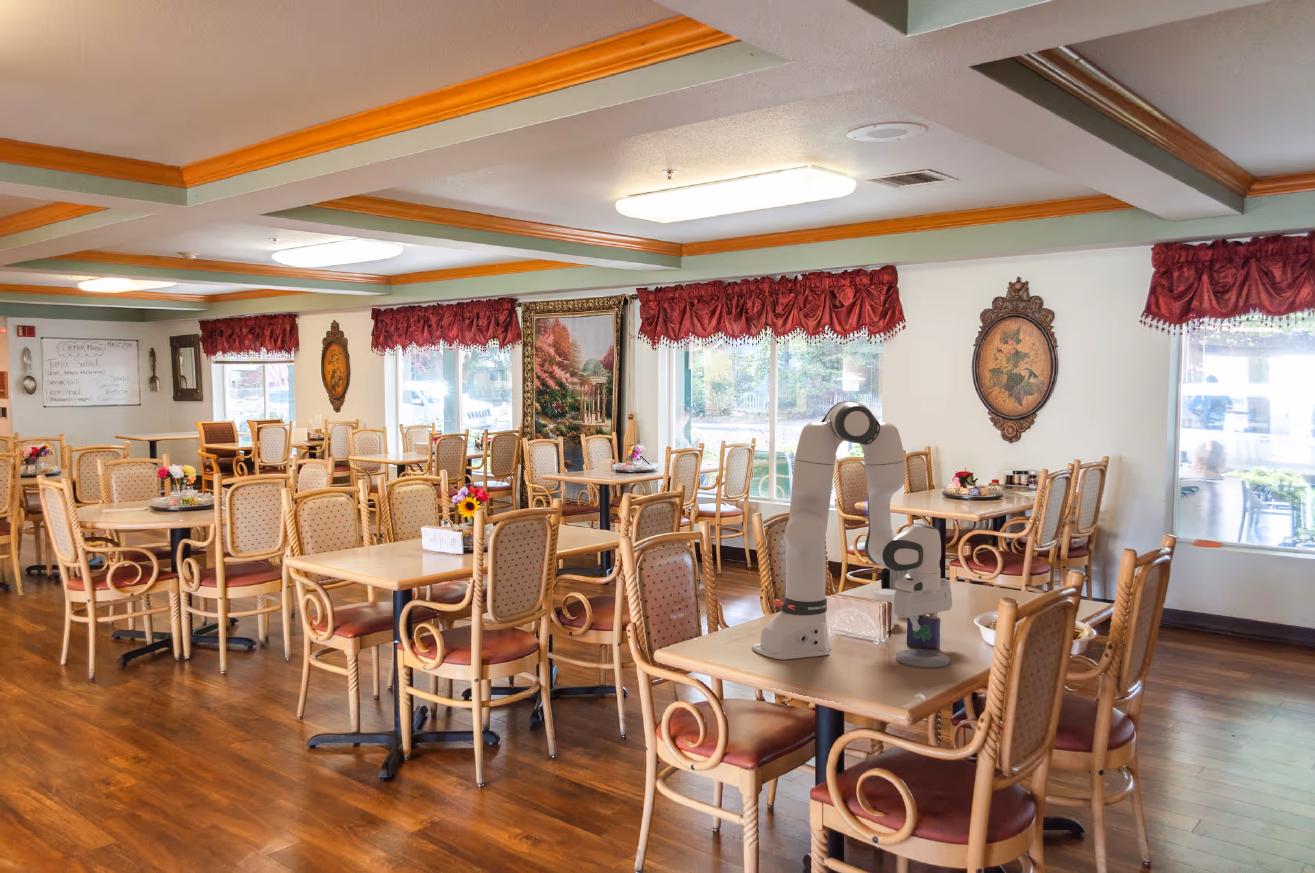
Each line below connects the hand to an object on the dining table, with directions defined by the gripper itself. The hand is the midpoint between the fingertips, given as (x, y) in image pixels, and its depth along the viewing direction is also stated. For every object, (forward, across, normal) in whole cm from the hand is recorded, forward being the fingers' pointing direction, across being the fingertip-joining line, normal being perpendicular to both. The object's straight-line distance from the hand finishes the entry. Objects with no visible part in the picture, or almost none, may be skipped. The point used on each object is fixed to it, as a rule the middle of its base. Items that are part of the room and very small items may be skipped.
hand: (923, 629), depth 261 cm
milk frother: (+5, -25, -37) cm, 45 cm away
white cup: (+5, -11, -25) cm, 28 cm away
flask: (+5, 0, 0) cm, 5 cm away
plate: (+5, +10, +9) cm, 14 cm away
